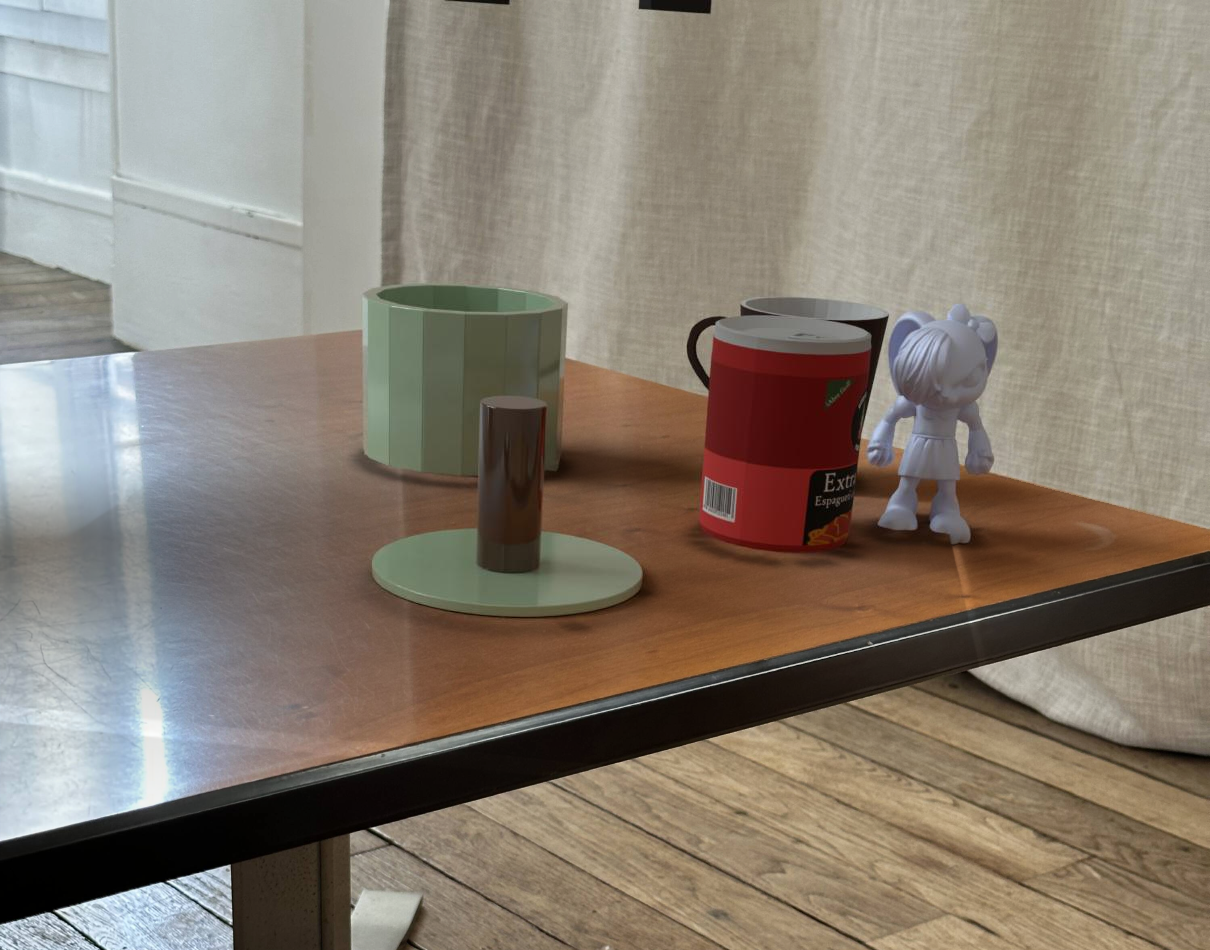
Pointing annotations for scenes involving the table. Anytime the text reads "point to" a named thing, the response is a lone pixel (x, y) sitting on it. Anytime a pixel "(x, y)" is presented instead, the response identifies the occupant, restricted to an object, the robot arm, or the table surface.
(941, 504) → the toy figurine
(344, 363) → the table surface
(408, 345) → the canister
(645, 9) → the robot arm
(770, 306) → the coffee mug
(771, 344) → the canned food
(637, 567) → the lid
